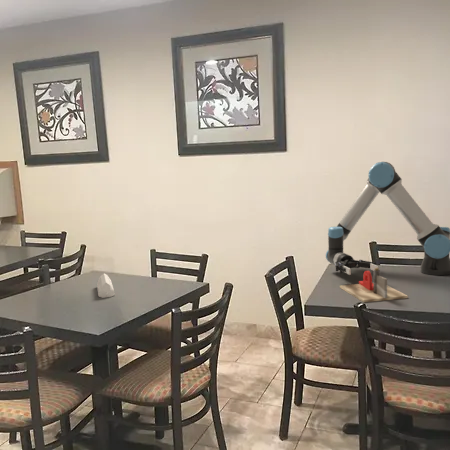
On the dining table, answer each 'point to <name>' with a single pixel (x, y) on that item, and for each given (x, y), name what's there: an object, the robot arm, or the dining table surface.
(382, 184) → the robot arm
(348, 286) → the hinge mount
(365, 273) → the bracket
